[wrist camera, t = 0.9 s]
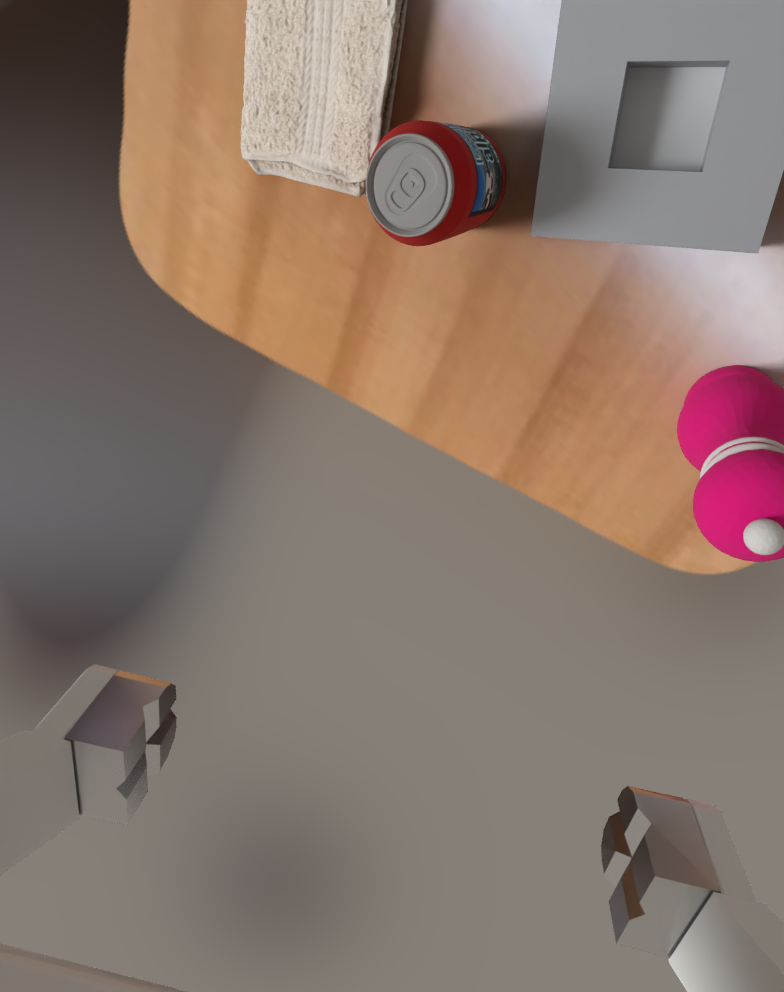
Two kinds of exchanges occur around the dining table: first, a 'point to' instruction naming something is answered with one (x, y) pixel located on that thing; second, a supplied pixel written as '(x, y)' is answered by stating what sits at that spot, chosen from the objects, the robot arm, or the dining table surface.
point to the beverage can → (434, 181)
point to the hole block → (664, 123)
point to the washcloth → (319, 87)
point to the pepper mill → (737, 461)
